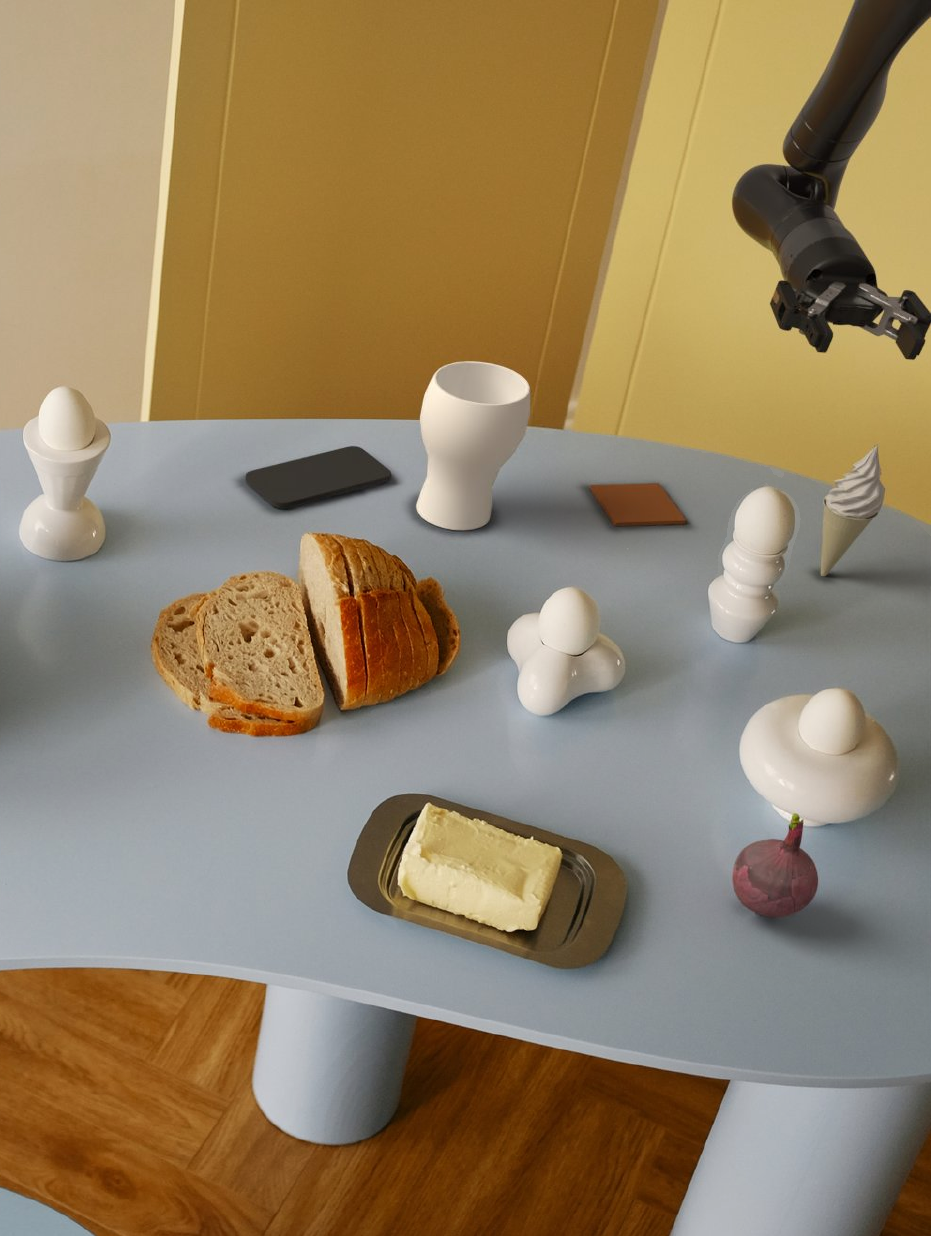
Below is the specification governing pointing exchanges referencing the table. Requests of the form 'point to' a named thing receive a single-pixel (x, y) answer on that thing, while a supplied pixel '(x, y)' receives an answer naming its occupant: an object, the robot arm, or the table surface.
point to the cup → (469, 439)
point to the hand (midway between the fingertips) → (870, 348)
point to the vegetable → (776, 875)
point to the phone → (317, 476)
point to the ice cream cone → (851, 508)
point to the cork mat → (637, 504)
